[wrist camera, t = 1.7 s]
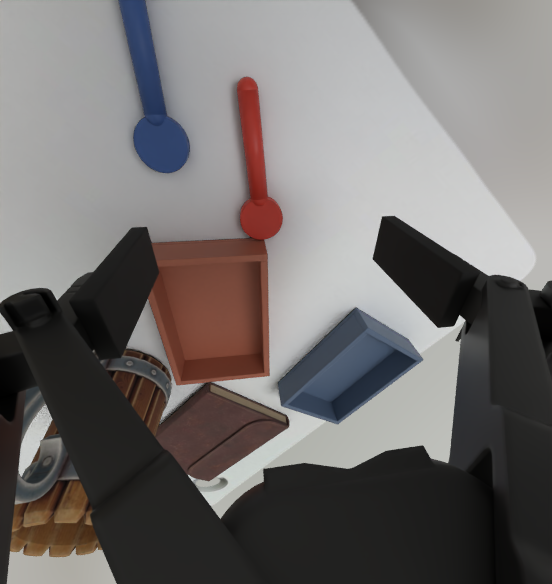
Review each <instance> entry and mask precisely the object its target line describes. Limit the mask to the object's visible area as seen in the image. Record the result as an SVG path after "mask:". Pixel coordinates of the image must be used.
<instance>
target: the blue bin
mask: <svg viewBox="0 0 552 584" xmlns="http://www.w3.org/2000/svg"><path fill="white" fill-rule="evenodd" d="M421 361H423V358H422V357H421V356H420V354H419V353H418V352H417V350H416V349H415V348H414V346H413V345H412V344H411V342H410V341H409V340H408V339H407V338H405V337H404V336H402V335H400V334H399V333H397V332H395V331H394V330H392V329H390V328H389V327H387V326H386V325H384V324H382V323H381V322H379V321H377V320H376V319H374V318H372V317H371V316H369V315H368V314H366V313H364V312H363V311H361V310H359V309H358V308H355V309H354V310H353V311H352V312H351V313H350V314H349V315H348V316H347V317H346V318H345V319H344V320H343V321H342V322H341V323H339V324H338V325H337V326H336V327H335V328H334V329H333V330H332V331H331V332H330V333H329V334H328V335H327V336H326V337H325V338H324V339H323V340H322V341H321V342H320V343H319V344H318V345H317V346H316V347H315V348H314V349H313V350H311V351H310V352H309V353H308V354H307V355H306V356H305V357H304V358H303V359H302V360H301V361H300V362H299V363H298V364H297V365H296V366H295V367H294V368H293V369H292V370H291V371H290V372H289V373H288V374H287V375H286V376H285V377H283V378H282V379H281V380H280V381H279V382H278V388H279V395H280V401H281V406H283V407H286V408H289V409H292V410H295V411H298V412H301V413H304V414H307V415H310V416H313V417H316V418H320V419H323V420H326V421H329V422H332V423H335V424H339V423H340V422H341V421H343V420H344V419H345V418H347V417H348V416H349V415H351V414H352V413H353V412H354V411H356V410H357V409H359V408H360V407H361V406H363V405H364V404H365V403H367V402H368V401H369V400H371V399H372V398H373V397H375V396H376V395H377V394H379V393H380V392H381V391H383V390H384V389H385V388H386V387H388V386H389V385H391V384H392V383H393V382H395V381H396V380H397V379H399V378H400V377H401V376H402V375H404V374H405V373H407V372H408V371H409V370H411V369H412V368H413V367H415V366H416V365H417V364H419V362H421Z"/></svg>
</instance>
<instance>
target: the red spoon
mask: <svg viewBox="0 0 552 584" xmlns="http://www.w3.org/2000/svg"><path fill="white" fill-rule="evenodd" d="M237 95H238V103H239V111H240V119H241V127H242V135H243V143H244V150H245V158H246V166H247V174H248V182H249V190H250V199H248V200H247V201H246V202H245V203H244V205H243V206H242V208H241V212H240V223H241V226H242V228H243V230H244V232H245V233H246V234H247V235H248V236H250V237H252V238H254V239H258V240H264V239H268V238H271V237H272V236H274V235H275V234H276V233H277V232H278V231H279V230H280V228H281V225H282V221H283V216H282V212H281V209H280V207H279V205H278V204H277V202H276V201H275V200H273V199H272V198H270V197H268V195H267V184H266V173H265V162H264V151H263V140H262V128H261V117H260V106H259V95H258V87H257V84H256V82H255V81H254V80H253V79H252V78H250V77H244V78H242V79H241V80H240V81H239V82H238V85H237Z"/></svg>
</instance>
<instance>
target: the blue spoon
mask: <svg viewBox="0 0 552 584" xmlns="http://www.w3.org/2000/svg"><path fill="white" fill-rule="evenodd" d="M118 1H119V6H120V10H121V14H122V19H123V23H124V28H125V32H126V36H127V41H128V45H129V49H130V54H131V58H132V62H133V67H134V71H135V76H136V80H137V84H138V89H139V93H140V97H141V102H142V106H143V111H144V115H145V117H144V118H143V119H141V120H140V121H139V122H138V124H137V125H136V127H135V130H134V136H133V139H134V146H135V149H136V151H137V154H138V155H139V157H140V158H141V160H142V161H143V162H144V163H145V164H146V165H147V166H149V167H150V168H151V169H153V170H155V171H158V172H162V173H171V172H175V171H177V170H179V169H180V168H181V167H182V166H183V165H184V164H185V163H186V161H187V159H188V157H189V152H190V145H189V140H188V137H187V135H186V133H185V131H184V129H183V128H182V127H181V126H180V124H179V123H177V122H176V121H175V120H174V119H172V118H170V117H168V116H167V113H166V108H165V103H164V98H163V92H162V87H161V82H160V77H159V71H158V66H157V61H156V55H155V50H154V45H153V40H152V34H151V29H150V24H149V18H148V13H147V8H146V3H145V0H118Z"/></svg>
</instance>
